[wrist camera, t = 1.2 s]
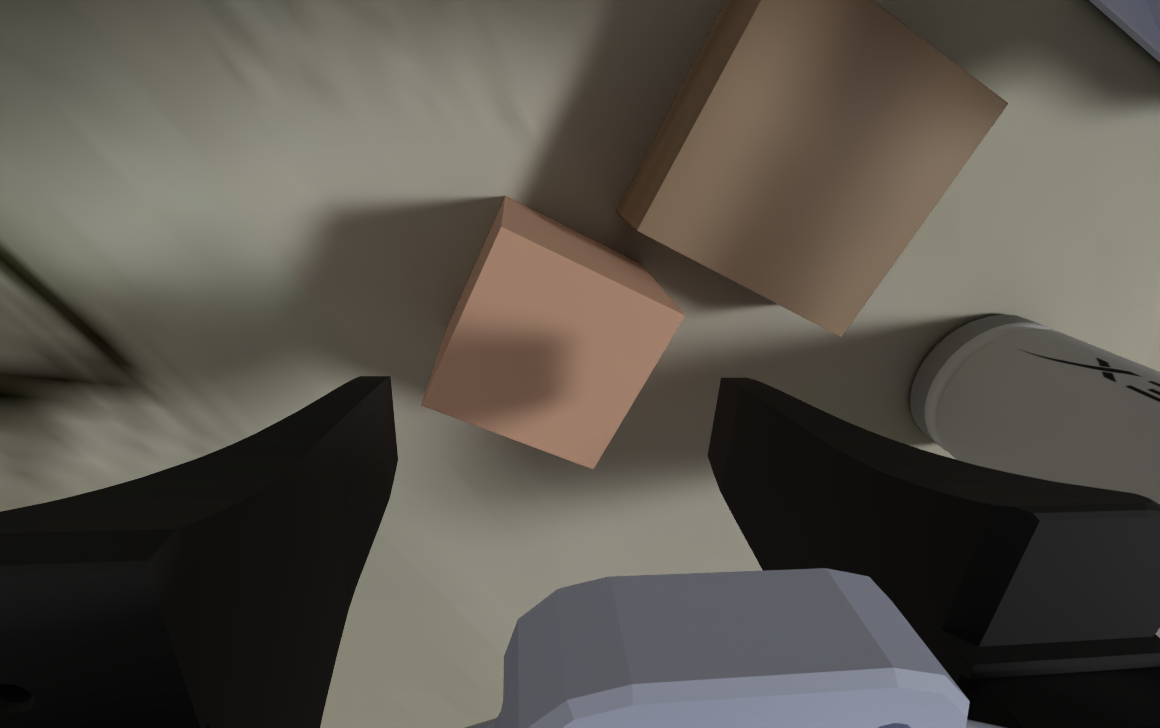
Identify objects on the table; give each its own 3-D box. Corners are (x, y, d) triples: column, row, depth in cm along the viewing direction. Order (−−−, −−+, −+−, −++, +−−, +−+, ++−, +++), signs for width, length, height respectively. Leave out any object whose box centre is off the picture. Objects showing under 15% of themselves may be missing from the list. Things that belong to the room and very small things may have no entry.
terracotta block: (640, 263, 21) (685, 315, 15) (574, 384, 22) (593, 469, 17) (505, 195, 19) (501, 226, 14) (445, 330, 21) (421, 405, 16)
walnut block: (917, 106, 20) (1008, 103, 16) (788, 301, 22) (841, 337, 19) (735, -23, 18) (793, -60, 14) (614, 210, 20) (637, 230, 16)
